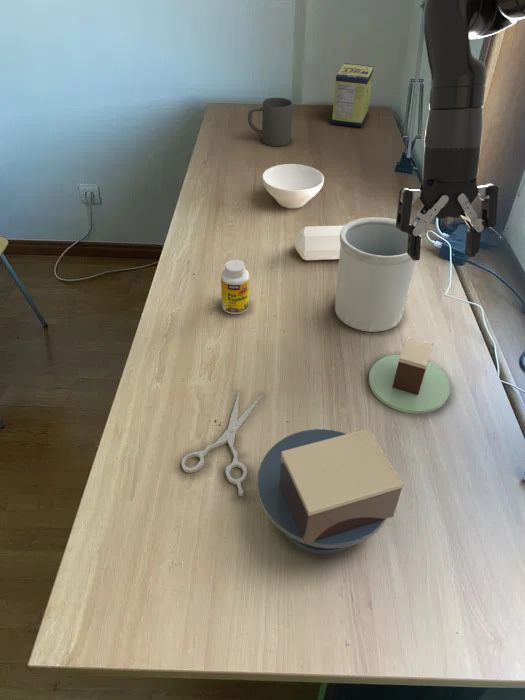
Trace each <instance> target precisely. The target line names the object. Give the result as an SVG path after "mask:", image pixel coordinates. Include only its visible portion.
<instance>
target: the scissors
mask: <svg viewBox="0 0 525 700" xmlns="http://www.w3.org/2000/svg"><path fill="white" fill-rule="evenodd" d="M261 397H262V395H260V396H259V397H257V399H256V400H255V401H254V402H253V403H252V404H251V405H250V406H249V407H248V408H247V409H246V410H245V412H244V413H242V414H241V416H239V417H238V414H239V413H238V412H239V401H240V391H238V392H237V396H236V400H235V402H234V406H233V407H232V411H231V415H230V419H229V423H228V426H227V429H226V430H225V431H224V433H223V434H222V435H221V436H220V438H218V439H217V440H216V441H215V442H214V443H212V444H207V445H206V447H205V449H203V450H199V451H191V452H190V453H187V454H186V455H185V456H184V457H183V458H182V460H181V468H182V470H183V472H185V473H188V474H191V473H196V472H197V471H199V470H200V469H202V468H203V467H204V466H205V457H206V456H207V454H208V453H209V452H210V451H212V450H214V449H217V448H218V447H220V446H223V445H225V444H227V445H228V447H229V449H230V451H231V453H232V455H233V459H232V462H231V463H230V464H228V465H227V466H226V467H225V477H226V479H227V480H228V482H229V483H231V484H234V485H236V487H237V490H238V491H237V492H238V496H239V497H243V496H244V489H243V488H242V484H243V483H244V482H245V481H246V479H247V475H248V470H247V467H246V466H245V464H244V463H242V462H241V461H239V459H238V455H239V453H238V451H237V450H236V449H235V447H234V446H235V445H234V444H235V440H236V433H237V432H238V430H239V429H240V428H241V426H242V425H243V424H244V423H245V421H246V420H247V418H248V417H249V416H250V414H251V412H252V411H253V410H254V408H255V407H256V405H257V404H258V402H259V401H260V399H261ZM195 457H196V458H199V461H198V463H197V464H196V465H194V466H192V467H188V466H187V465H186V462H187V461H188V460H190V459H191V458H195ZM234 468H235V469H236V468H239V469H241V470H242V475H241V477H239V478H234V477H232V476H231V471H232V470H233V469H234Z"/></svg>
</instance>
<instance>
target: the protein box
mask: <svg viewBox="0 0 525 700" xmlns="http://www.w3.org/2000/svg"><path fill="white" fill-rule="evenodd" d="M374 70H375V66H374V65H368V64H367V65H366V64H358V63H347V62H344V63H343V65H342V66H341V68H340V69H339V70H338V72H337V74H336V76H335V83H334V96H333V105H332V116H331V117H332V118H331V124H332V125H338V126H346V127H355V128H362V126H363V124H364V122H365V120H366V118H367V115H368V113H369V107H370V99H371V93H372V85H373V77H374V72H375V71H374Z"/></svg>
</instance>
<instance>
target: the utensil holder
mask: <svg viewBox="0 0 525 700" xmlns="http://www.w3.org/2000/svg"><path fill="white" fill-rule="evenodd" d="M344 225H345V226H344V227H343V228H342V230H341V233H340V243H341V246H340V256H339V259H338V265H337V266H338V267H337V276H336V284H335V285H336V287H335V298H334V299H335V301H334V311H335V314H336V316H337V318H338V319H339V320H340V321H341V322H342V323H343V324H345V325H346V326H348V327H350V328H353V329H355V330H358V331H363V332H368V333H370V332H371V333H373V332H374V333H376V332H377V333H378V332H379V333H380V332H385V331H388V330H391V329H392V328H394V327H396V326H397V325H399V323H400V322H401V320H402V318H403V315H404V311H405V308H406V304H407V300H408V296H409V291H410V287H411V283H412V279H413V275H414V272H415V266H416V263H417V260H416V261H414V260H413V259H411V257H410V256H409V255H408V253H407V244H408V234H407V233H406V232H402V231H401V230H399V229H397V228H396V219H394V218H388V217H361V218H357V219H354V220H351V221H349V222H347V223H346V224H344ZM419 235H420V236H421V233H420V234H419ZM422 242H423V240H422V238H421V244H422Z"/></svg>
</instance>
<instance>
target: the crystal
mask: <svg viewBox="0 0 525 700" xmlns="http://www.w3.org/2000/svg"><path fill="white" fill-rule="evenodd" d="M345 225H346V224H344V225H311V226H304V227H302V228H301V229H300V230H299V232H298V234H297V236H296V237H295V238H294V249H295V250H296V252H297V253H298V255H299V256H300V258H301V259H302V260H304V261H322V260H339V256H340V246H341V243H340V233H341V230H342V228H343V227H344V226H345Z"/></svg>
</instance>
